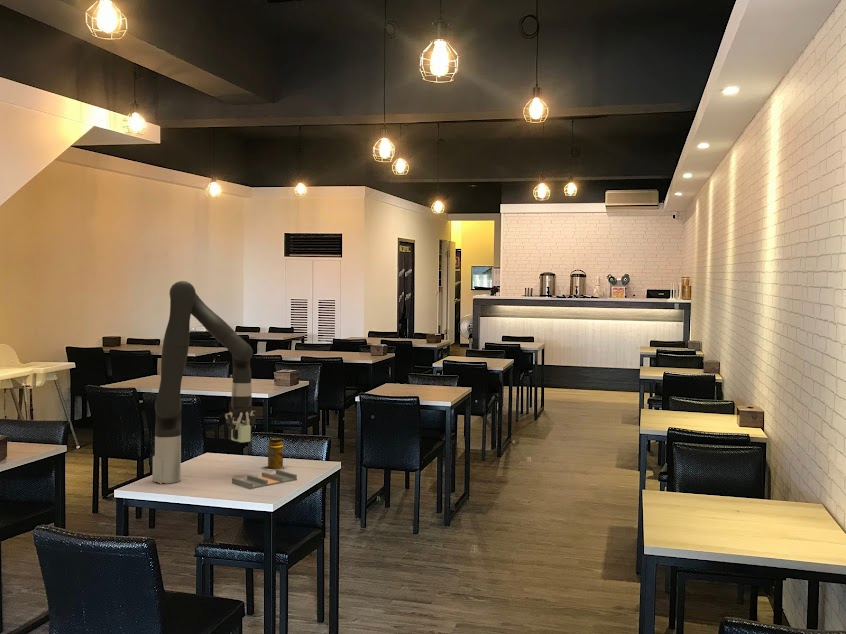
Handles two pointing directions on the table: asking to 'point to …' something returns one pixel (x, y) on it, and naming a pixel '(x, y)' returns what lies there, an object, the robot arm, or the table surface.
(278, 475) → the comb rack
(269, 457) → the condiment
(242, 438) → the plug
